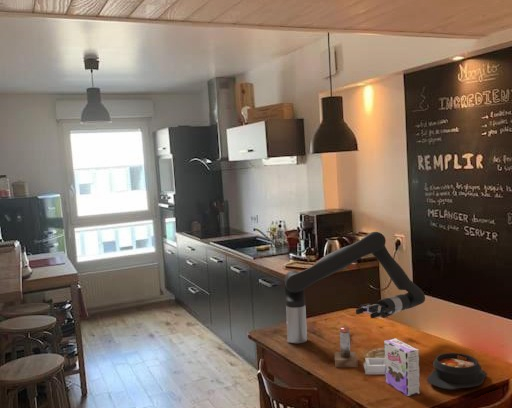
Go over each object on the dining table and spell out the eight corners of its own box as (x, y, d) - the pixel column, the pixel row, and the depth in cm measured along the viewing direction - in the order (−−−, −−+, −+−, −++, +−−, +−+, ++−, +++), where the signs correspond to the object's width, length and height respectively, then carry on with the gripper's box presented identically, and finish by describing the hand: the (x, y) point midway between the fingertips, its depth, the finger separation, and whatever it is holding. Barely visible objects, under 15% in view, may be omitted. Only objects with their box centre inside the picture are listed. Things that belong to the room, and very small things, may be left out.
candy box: (384, 382, 198) (383, 340, 197) (397, 379, 200) (396, 337, 199) (407, 396, 185) (405, 352, 184) (420, 393, 187) (419, 349, 186)
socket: (365, 374, 206) (365, 366, 205) (363, 364, 216) (363, 357, 215) (391, 374, 205) (391, 366, 204) (387, 364, 215) (387, 356, 214)
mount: (335, 367, 214) (335, 360, 214) (334, 358, 223) (334, 352, 223) (357, 366, 213) (357, 359, 213) (355, 358, 222) (355, 351, 222)
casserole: (456, 365, 210) (456, 345, 209) (499, 380, 194) (499, 358, 193) (414, 382, 196) (414, 361, 196) (457, 400, 181) (456, 376, 180)
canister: (341, 357, 216) (339, 329, 215) (340, 354, 220) (339, 326, 219) (350, 357, 216) (349, 329, 215) (350, 354, 220) (348, 326, 219)
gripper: (377, 294, 238) (351, 302, 229) (401, 300, 226) (375, 308, 217) (377, 310, 238) (352, 318, 229) (402, 317, 226) (376, 326, 217)
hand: (363, 313), depth 223 cm, fingers open, 8 cm apart
